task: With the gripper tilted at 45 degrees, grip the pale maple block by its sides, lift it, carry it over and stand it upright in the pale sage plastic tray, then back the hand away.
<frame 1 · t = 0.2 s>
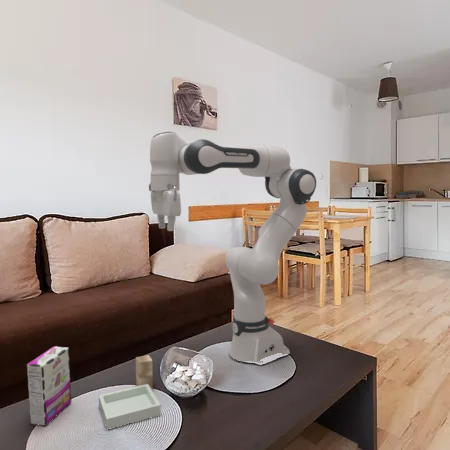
hand: (166, 229, 120), 47 cm above the table, tool pointing down, fingers open, 8 cm apart
candy bar box: (51, 413, 103), on the table
tray: (129, 410, 105), on the table
maple block: (144, 387, 117), on the table
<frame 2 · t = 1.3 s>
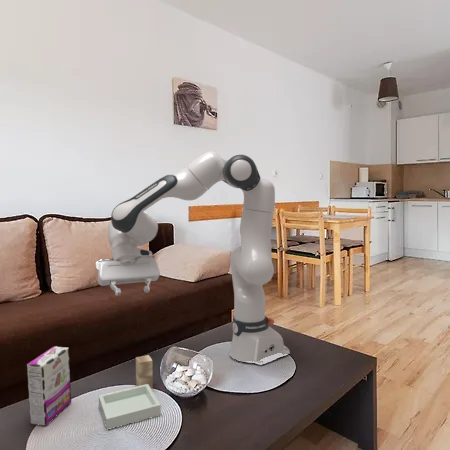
hand: (133, 293, 124), 26 cm above the table, tool tilted 45°, fingers open, 8 cm apart
nothing on the table moved.
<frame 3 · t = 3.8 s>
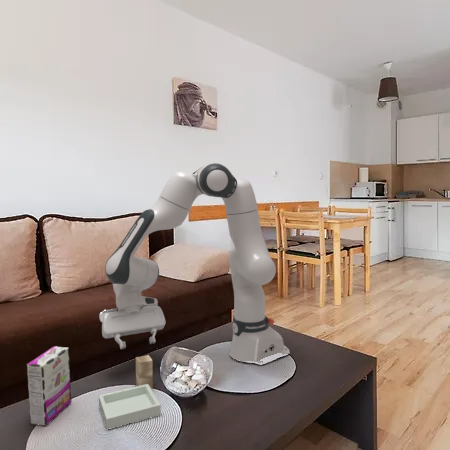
hand: (138, 345, 121), 11 cm above the table, tool tilted 45°, fingers open, 8 cm apart
nothing on the table moved.
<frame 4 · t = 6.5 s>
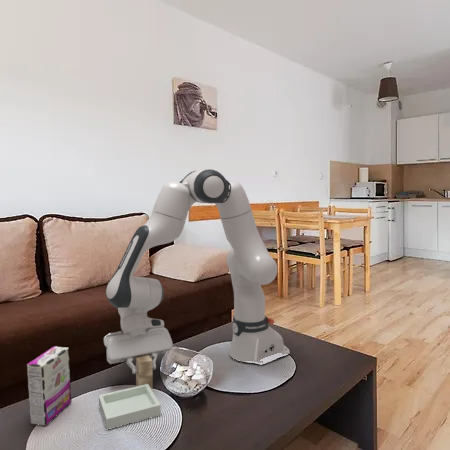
hand: (144, 371, 116), 5 cm above the table, tool tilted 45°, fingers closed on maple block, 4 cm apart
maple block: (144, 387, 117), on the table, touching gripper
everything else where it was.
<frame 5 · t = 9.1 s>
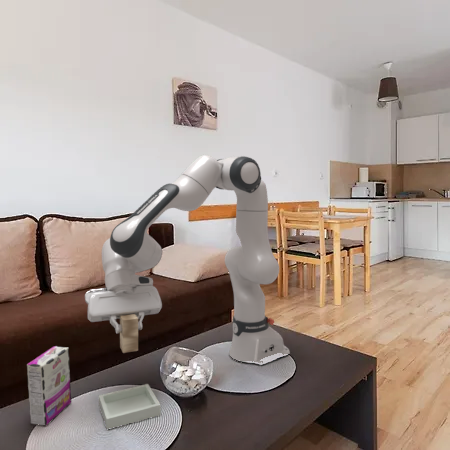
hand: (129, 330, 104), 22 cm above the table, tool tilted 45°, fingers closed on maple block, 4 cm apart
maple block: (129, 348, 105), point 17 cm above the table, touching gripper
everything else where it was.
when the fingers open (7 cm above the table, at t = 12.1 s): maple block stays where it is, resting on tray.
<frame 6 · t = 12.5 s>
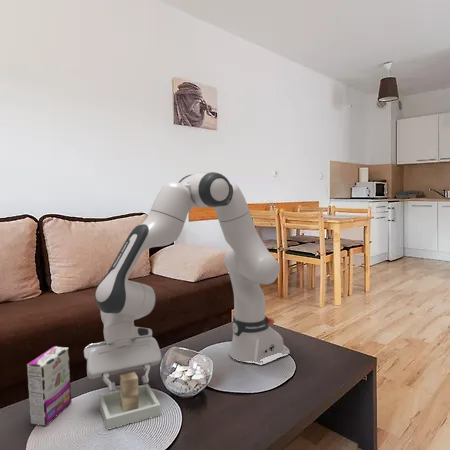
hand: (129, 386, 103), 7 cm above the table, tool tilted 45°, fingers open, 8 cm apart
maple block: (129, 407, 105), point 1 cm above the table, touching tray
everything else where it was.
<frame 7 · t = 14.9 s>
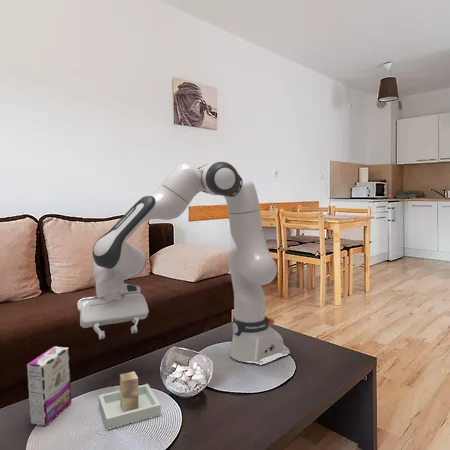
hand: (118, 335, 113), 17 cm above the table, tool tilted 45°, fingers open, 8 cm apart
nothing on the table moved.
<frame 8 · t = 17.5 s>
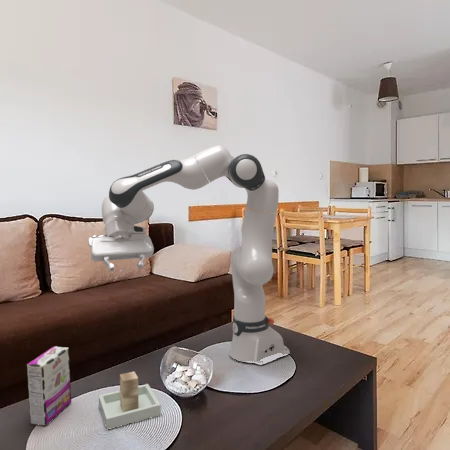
hand: (126, 268, 123), 34 cm above the table, tool tilted 45°, fingers open, 8 cm apart
nothing on the table moved.
at the end: maple block inside the target area on the tray (0.1 cm from its centre), point 0.8 cm above the tray's base; maple block tilted 0°; the gripper is holding nothing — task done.
